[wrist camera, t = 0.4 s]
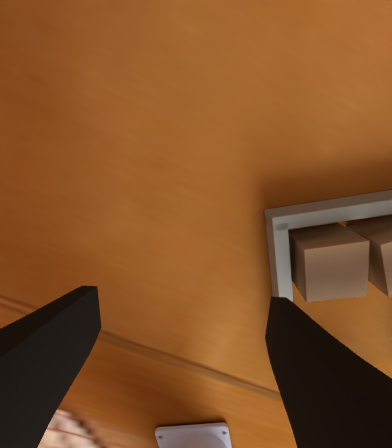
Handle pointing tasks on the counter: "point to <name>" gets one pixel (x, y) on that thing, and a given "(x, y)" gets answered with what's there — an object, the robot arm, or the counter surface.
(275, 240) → the frame
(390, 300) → the counter surface
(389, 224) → the walnut block
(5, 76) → the counter surface
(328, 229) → the walnut block
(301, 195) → the counter surface
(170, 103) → the counter surface
